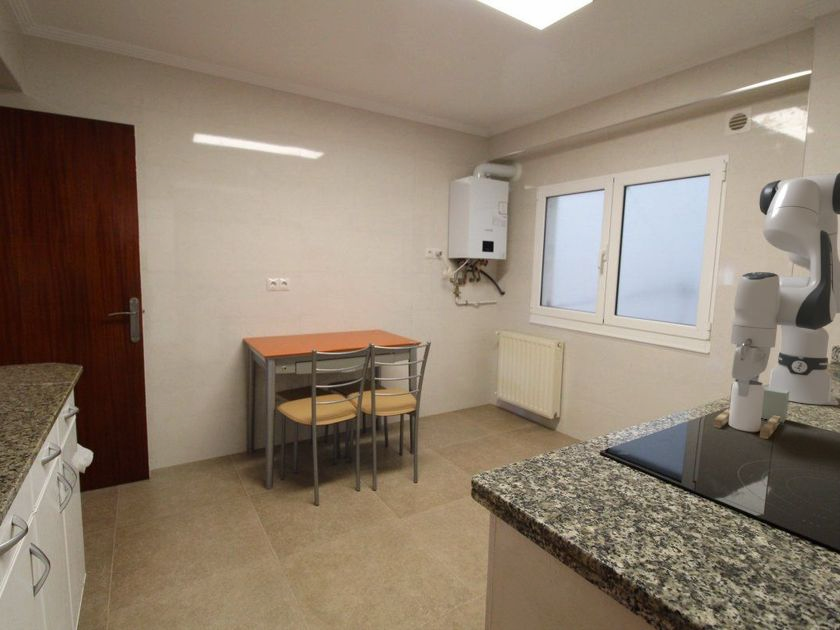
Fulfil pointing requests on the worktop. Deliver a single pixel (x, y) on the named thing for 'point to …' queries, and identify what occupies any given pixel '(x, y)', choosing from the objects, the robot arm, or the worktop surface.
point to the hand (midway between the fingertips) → (747, 392)
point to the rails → (764, 431)
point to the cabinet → (774, 403)
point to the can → (746, 407)
